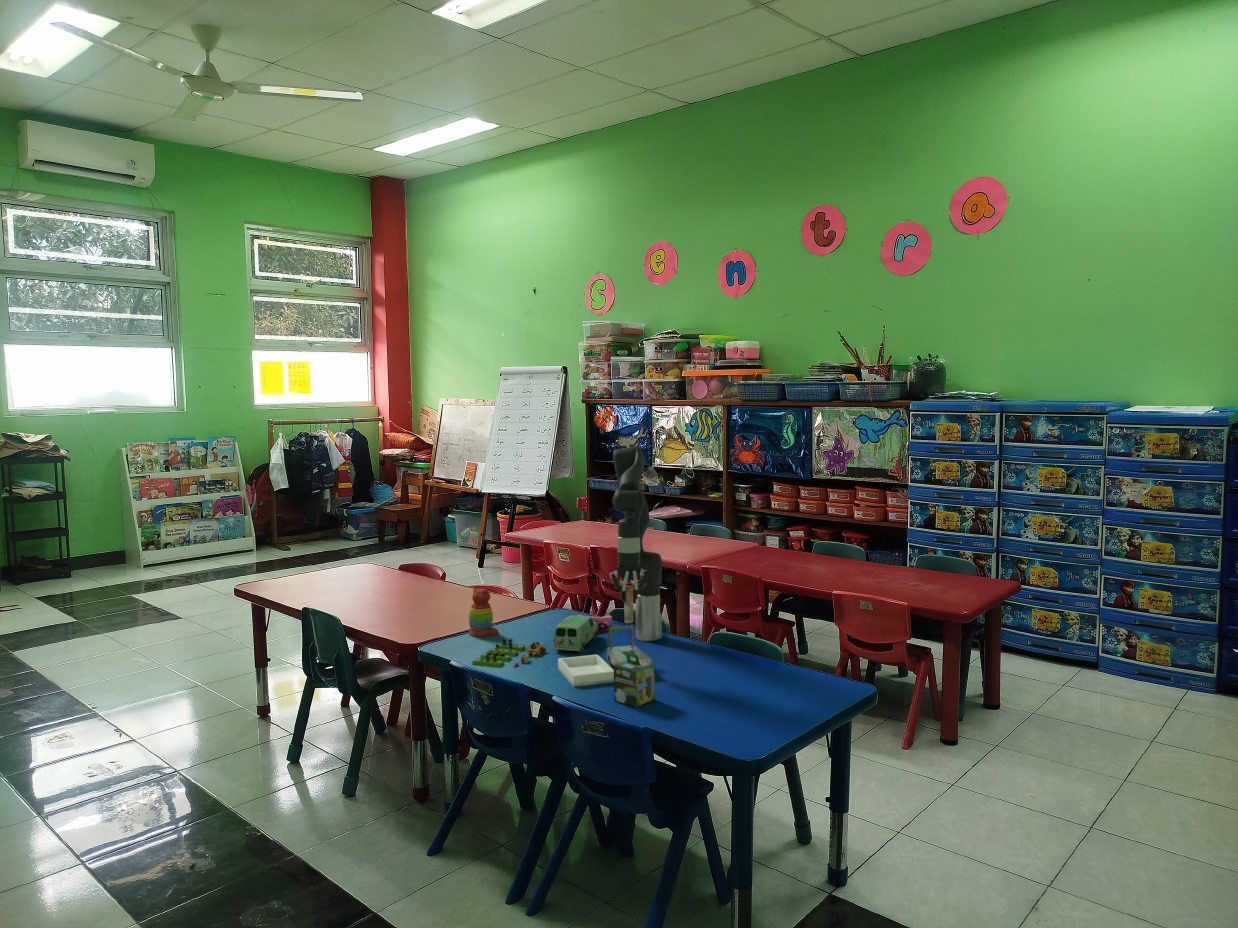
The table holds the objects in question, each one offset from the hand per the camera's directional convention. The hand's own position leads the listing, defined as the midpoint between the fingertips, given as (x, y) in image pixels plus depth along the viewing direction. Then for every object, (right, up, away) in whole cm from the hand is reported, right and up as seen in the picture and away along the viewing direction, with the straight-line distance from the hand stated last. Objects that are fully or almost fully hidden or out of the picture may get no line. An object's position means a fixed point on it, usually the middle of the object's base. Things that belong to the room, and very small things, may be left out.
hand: (628, 600), depth 278 cm
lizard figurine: (-13, -21, +53) cm, 59 cm away
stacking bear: (-57, -21, +46) cm, 76 cm away
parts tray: (-14, -24, -3) cm, 28 cm away
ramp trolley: (0, -24, +2) cm, 24 cm away
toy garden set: (-42, -23, +16) cm, 50 cm away
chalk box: (+1, -26, -26) cm, 37 cm away
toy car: (-19, -22, +32) cm, 43 cm away
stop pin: (0, -7, +1) cm, 7 cm away
